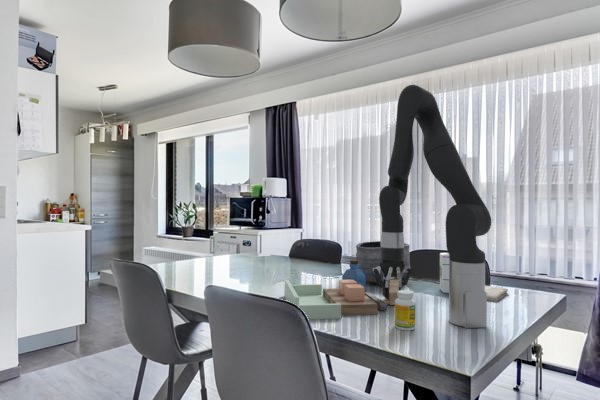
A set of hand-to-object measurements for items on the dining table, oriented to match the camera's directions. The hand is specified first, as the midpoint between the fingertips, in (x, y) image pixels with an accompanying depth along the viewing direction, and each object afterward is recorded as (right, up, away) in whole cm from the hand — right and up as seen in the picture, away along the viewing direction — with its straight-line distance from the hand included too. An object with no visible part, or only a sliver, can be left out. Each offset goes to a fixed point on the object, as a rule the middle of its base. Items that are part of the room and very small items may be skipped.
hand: (391, 298), depth 127 cm
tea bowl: (+4, -3, +35) cm, 36 cm away
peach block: (-13, +1, -6) cm, 14 cm away
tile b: (-14, +1, +2) cm, 15 cm away
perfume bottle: (-10, -2, +16) cm, 19 cm away
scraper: (-3, -2, 0) cm, 3 cm away
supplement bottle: (-2, -2, -24) cm, 25 cm away
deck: (-15, -2, -2) cm, 15 cm away
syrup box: (+26, -3, +20) cm, 33 cm away
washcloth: (+38, -4, +15) cm, 41 cm away
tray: (-27, -2, -4) cm, 27 cm away
